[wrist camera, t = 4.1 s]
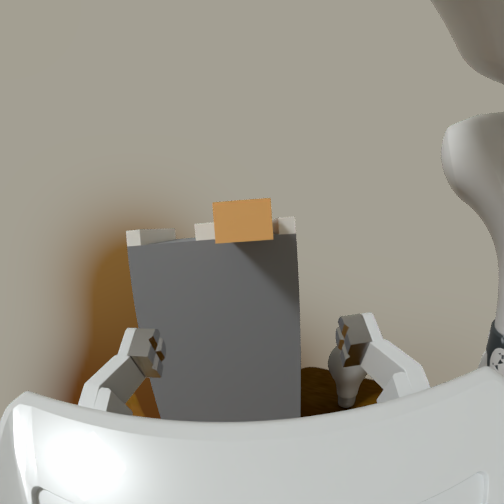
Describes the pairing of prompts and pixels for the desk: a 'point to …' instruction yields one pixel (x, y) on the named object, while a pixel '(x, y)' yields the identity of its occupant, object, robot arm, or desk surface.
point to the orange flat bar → (243, 220)
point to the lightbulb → (345, 378)
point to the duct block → (221, 322)
